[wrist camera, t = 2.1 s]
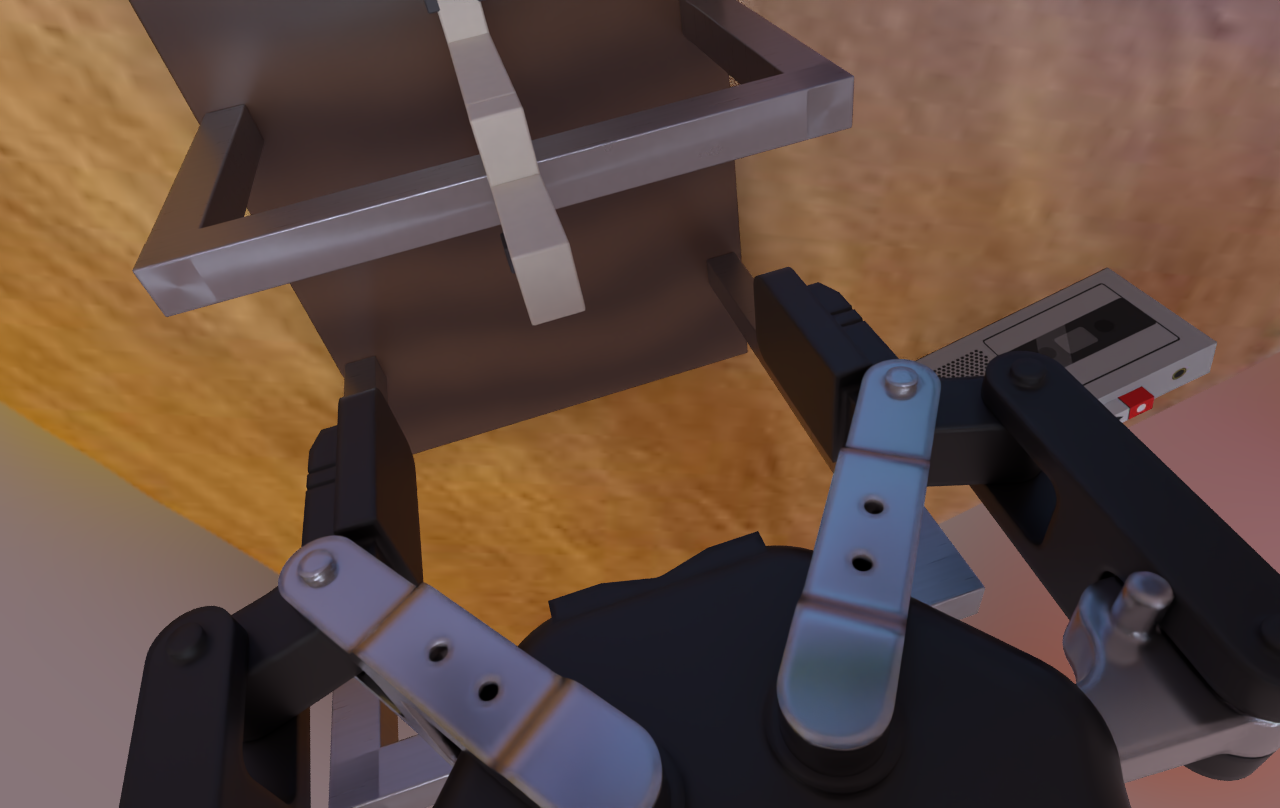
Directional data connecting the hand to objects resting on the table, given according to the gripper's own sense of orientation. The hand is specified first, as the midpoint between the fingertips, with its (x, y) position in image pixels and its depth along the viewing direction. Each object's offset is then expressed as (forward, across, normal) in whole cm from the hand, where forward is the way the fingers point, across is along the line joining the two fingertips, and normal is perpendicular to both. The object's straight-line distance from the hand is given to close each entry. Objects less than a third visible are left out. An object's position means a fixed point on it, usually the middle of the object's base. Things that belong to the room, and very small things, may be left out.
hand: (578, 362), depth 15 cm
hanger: (+16, 0, +1) cm, 16 cm away
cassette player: (+22, -30, +26) cm, 46 cm away
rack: (+22, 0, +6) cm, 23 cm away
